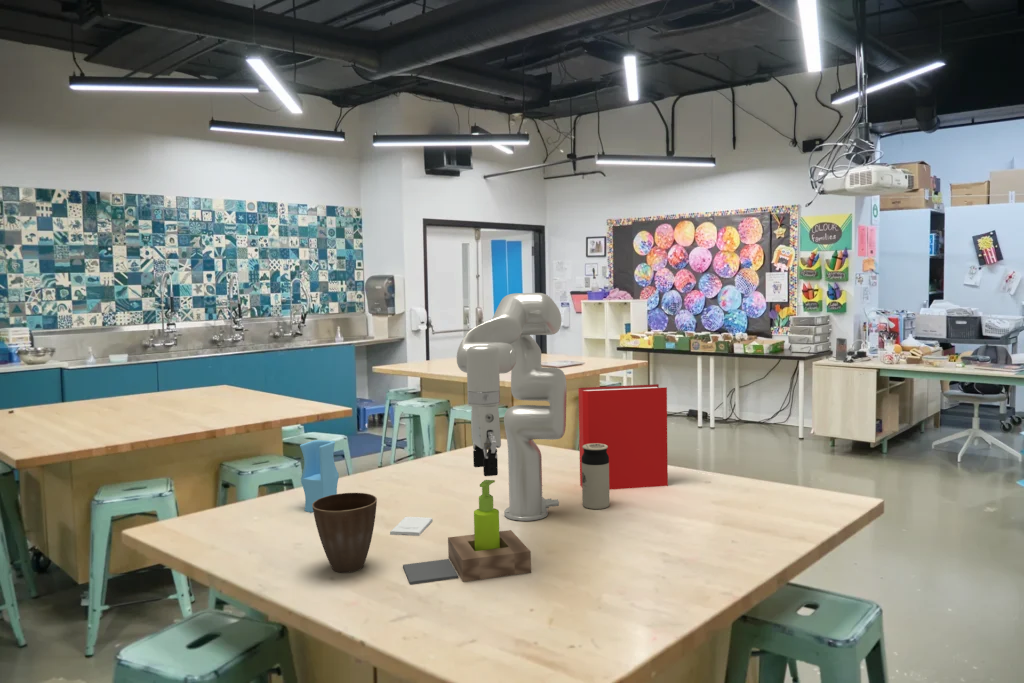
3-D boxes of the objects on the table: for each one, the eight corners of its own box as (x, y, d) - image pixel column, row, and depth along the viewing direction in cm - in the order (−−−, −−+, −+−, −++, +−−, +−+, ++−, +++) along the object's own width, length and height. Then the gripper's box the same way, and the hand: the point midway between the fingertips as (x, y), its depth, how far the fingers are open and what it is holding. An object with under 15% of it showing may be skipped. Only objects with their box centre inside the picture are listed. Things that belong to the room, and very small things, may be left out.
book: (659, 479, 253) (658, 384, 250) (667, 485, 245) (666, 387, 242) (579, 484, 249) (577, 387, 246) (585, 491, 241) (583, 391, 238)
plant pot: (348, 584, 170) (345, 514, 169) (301, 572, 178) (298, 505, 177) (392, 562, 183) (389, 497, 181) (347, 552, 190) (344, 489, 189)
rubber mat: (448, 561, 182) (448, 558, 182) (458, 577, 172) (458, 575, 172) (402, 567, 179) (402, 564, 179) (410, 584, 169) (409, 581, 169)
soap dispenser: (505, 560, 182) (503, 478, 180) (495, 571, 175) (492, 486, 174) (482, 558, 184) (480, 477, 182) (471, 568, 177) (469, 484, 176)
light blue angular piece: (302, 511, 227) (299, 445, 225) (318, 503, 234) (315, 439, 233) (324, 513, 224) (321, 446, 222) (339, 506, 231) (337, 441, 230)
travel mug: (609, 501, 228) (608, 442, 227) (610, 509, 220) (609, 448, 219) (582, 501, 229) (581, 443, 228) (582, 509, 221) (581, 448, 220)
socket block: (511, 549, 189) (511, 530, 189) (531, 572, 174) (530, 551, 174) (448, 557, 185) (447, 537, 185) (462, 581, 170) (462, 559, 169)
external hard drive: (432, 523, 214) (419, 538, 202) (404, 522, 216) (389, 536, 203) (432, 517, 214) (419, 531, 202) (404, 516, 215) (389, 530, 203)
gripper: (509, 402, 169) (511, 477, 170) (490, 393, 186) (491, 462, 187) (476, 404, 167) (478, 480, 168) (460, 394, 184) (461, 464, 185)
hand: (485, 471), depth 177 cm, fingers open, 9 cm apart
